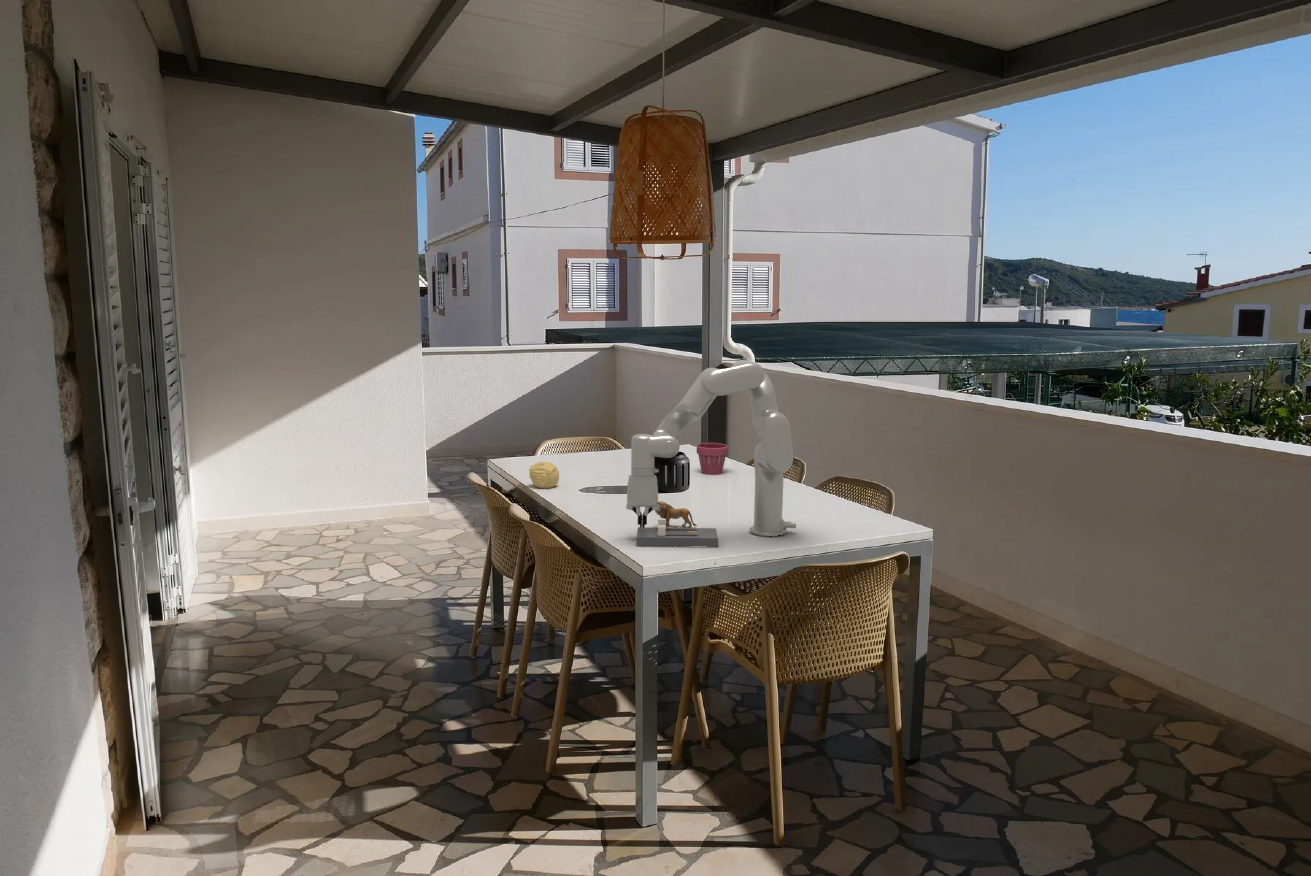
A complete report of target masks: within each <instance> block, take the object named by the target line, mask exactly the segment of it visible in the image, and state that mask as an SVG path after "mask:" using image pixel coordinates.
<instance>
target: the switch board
mask: <svg viewBox="0 0 1311 876" xmlns="http://www.w3.org/2000/svg"><path fill="white" fill-rule="evenodd" d="M674 546H676V547H674ZM686 546H688V547H686ZM689 546H707V547H706V548H718V547H719V537H718V532H717V528H715V527H713V528H712V527H709V528H708V527H692V528H688V527H667V528H666V531H665V536H658V527H650V526H649V527H645V528H643V527H641V528H640V526H638V527H637V532H636V547H646V548H647V547H650V548H652V547H656V548H657V547H661V548H663V547H666V548H667V547H668V548H669V547H670V548H690V547H689Z"/></svg>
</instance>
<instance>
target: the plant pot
mask: <svg viewBox="0 0 1311 876" xmlns="http://www.w3.org/2000/svg"><path fill="white" fill-rule="evenodd" d="M696 454H697V455H698V461H699V465H700V471H701V474H703V475H707V476H708V475H709V476H718V475H722V473H723V470H724V466H725V462H726V457H727V455H728V454H729V445H728V444H724V443H721V442H719V443H718V442H702V443H698V444H697V445H696Z"/></svg>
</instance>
